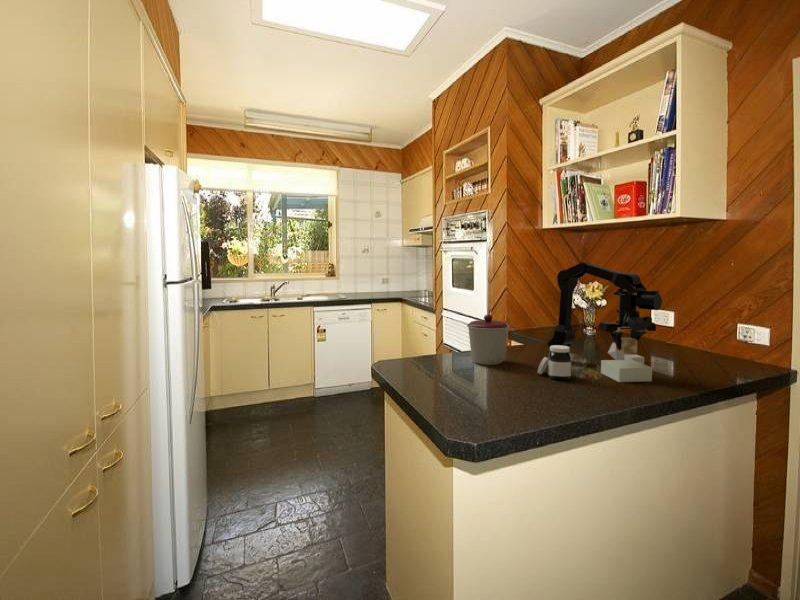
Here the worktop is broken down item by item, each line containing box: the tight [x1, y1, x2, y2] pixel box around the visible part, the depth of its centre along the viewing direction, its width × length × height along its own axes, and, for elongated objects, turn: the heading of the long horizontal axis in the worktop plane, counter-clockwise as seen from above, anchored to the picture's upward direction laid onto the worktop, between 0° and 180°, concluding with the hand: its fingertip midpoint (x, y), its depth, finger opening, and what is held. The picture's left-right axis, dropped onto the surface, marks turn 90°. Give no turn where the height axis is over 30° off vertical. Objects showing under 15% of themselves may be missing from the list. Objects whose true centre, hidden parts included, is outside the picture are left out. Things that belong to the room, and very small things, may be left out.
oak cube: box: [616, 337, 638, 355], centre depth 147 cm, size 5×5×5 cm
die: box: [607, 342, 631, 360], centre depth 173 cm, size 8×9×10 cm
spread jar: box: [537, 345, 572, 381], centre depth 149 cm, size 12×11×12 cm
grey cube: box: [624, 354, 645, 365], centre depth 160 cm, size 5×5×5 cm
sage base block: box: [600, 359, 653, 383], centre depth 148 cm, size 12×12×5 cm
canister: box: [466, 314, 511, 366], centre depth 171 cm, size 18×18×21 cm
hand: (626, 349), depth 147 cm, fingers closed on oak cube, 5 cm apart
